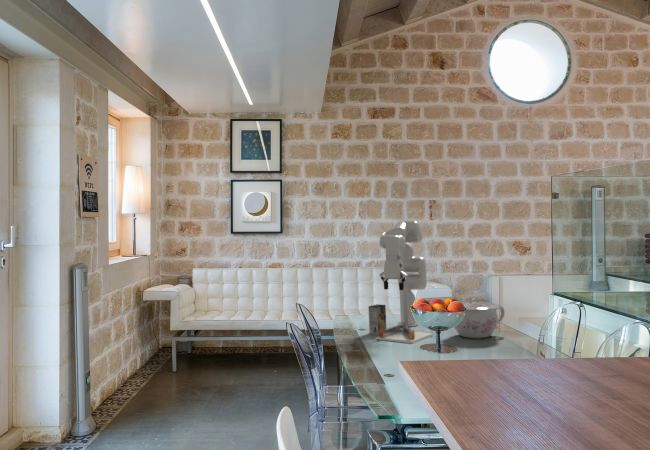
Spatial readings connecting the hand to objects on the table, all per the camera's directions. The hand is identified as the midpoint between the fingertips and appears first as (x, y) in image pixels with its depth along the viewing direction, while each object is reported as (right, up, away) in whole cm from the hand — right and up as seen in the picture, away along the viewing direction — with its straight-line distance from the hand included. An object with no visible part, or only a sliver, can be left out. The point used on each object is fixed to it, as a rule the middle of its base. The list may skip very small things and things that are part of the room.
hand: (393, 289), depth 296 cm
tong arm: (+9, -26, +4) cm, 28 cm away
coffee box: (-7, -28, +21) cm, 36 cm away
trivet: (+7, -27, +6) cm, 29 cm away
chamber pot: (+46, -26, +4) cm, 53 cm away
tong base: (+1, -26, +9) cm, 28 cm away
